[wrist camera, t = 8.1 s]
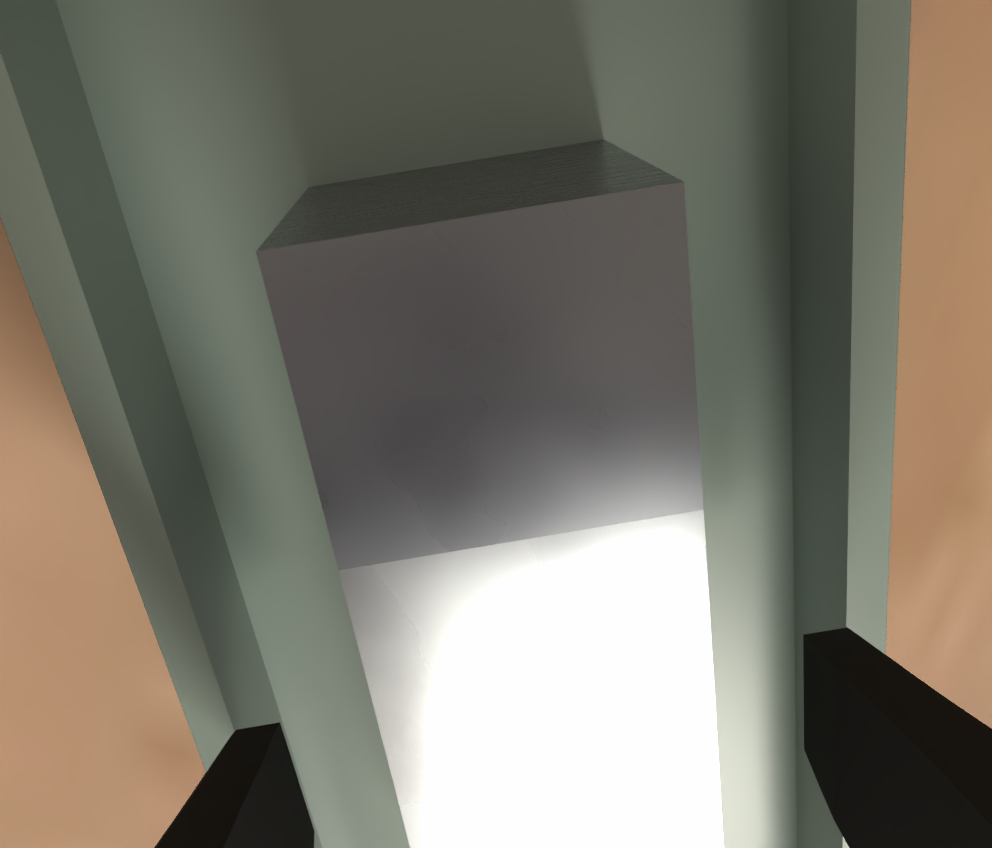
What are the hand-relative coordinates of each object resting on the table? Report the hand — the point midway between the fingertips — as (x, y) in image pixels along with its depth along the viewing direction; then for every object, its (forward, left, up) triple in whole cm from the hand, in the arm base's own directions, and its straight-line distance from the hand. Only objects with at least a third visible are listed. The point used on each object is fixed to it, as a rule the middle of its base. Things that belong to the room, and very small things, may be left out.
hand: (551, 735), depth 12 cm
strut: (0, 0, -3) cm, 3 cm away
